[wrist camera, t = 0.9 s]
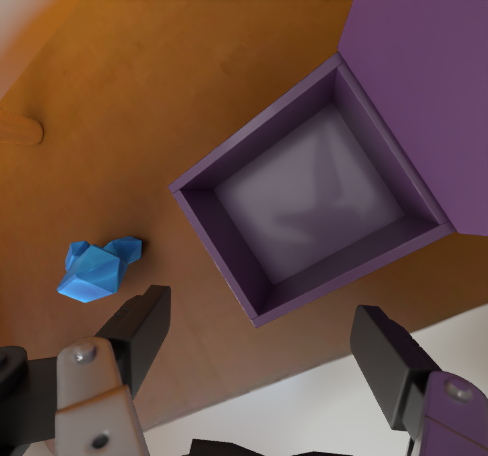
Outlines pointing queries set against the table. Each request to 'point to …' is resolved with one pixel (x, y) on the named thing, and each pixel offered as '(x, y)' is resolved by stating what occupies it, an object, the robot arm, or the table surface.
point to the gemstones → (97, 268)
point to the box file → (308, 196)
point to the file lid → (430, 92)
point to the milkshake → (19, 129)
